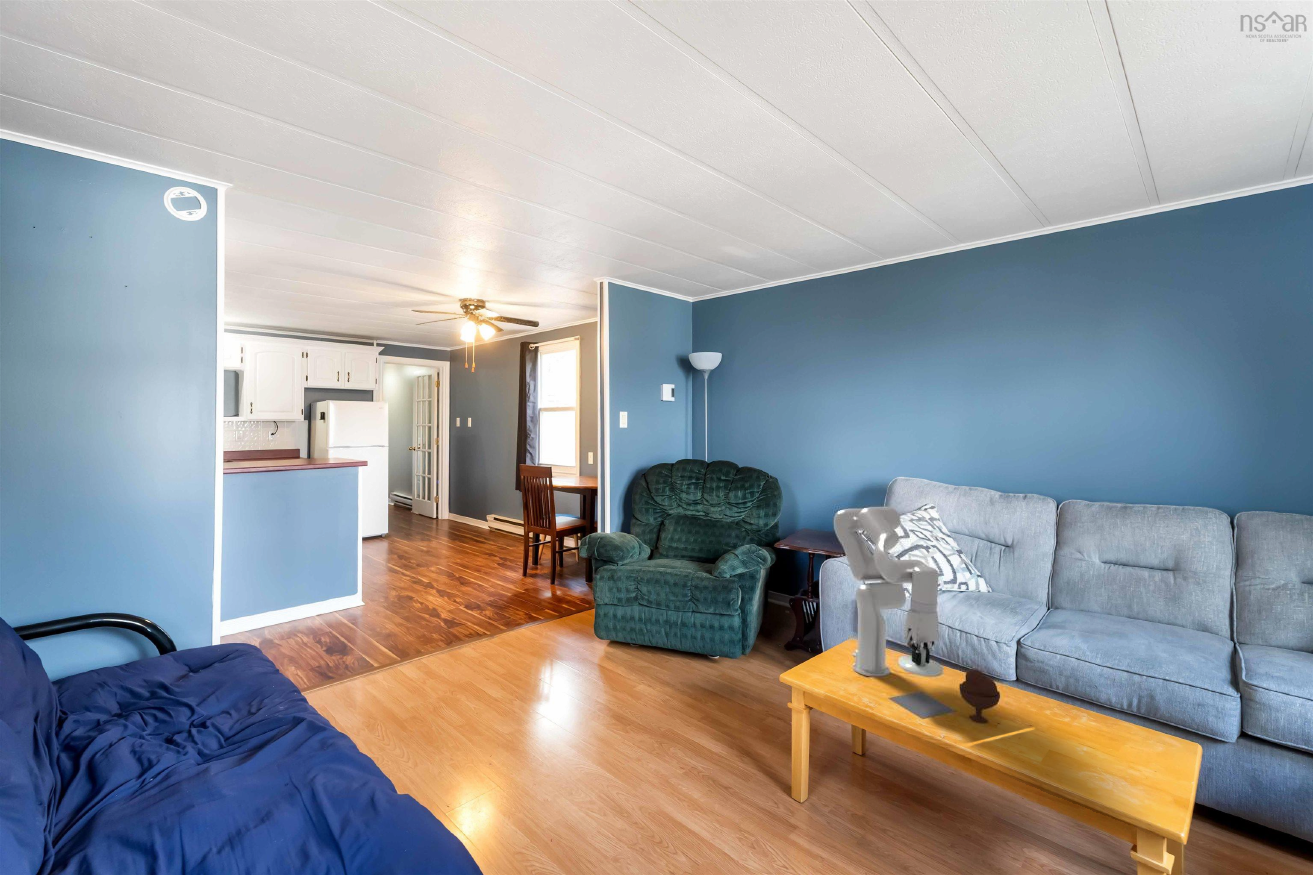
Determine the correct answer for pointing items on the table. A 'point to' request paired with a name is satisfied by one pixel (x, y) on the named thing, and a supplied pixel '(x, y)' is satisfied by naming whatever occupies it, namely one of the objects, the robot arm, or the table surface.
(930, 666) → the lid
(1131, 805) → the table surface
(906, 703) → the mat
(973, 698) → the ice cream bowl
